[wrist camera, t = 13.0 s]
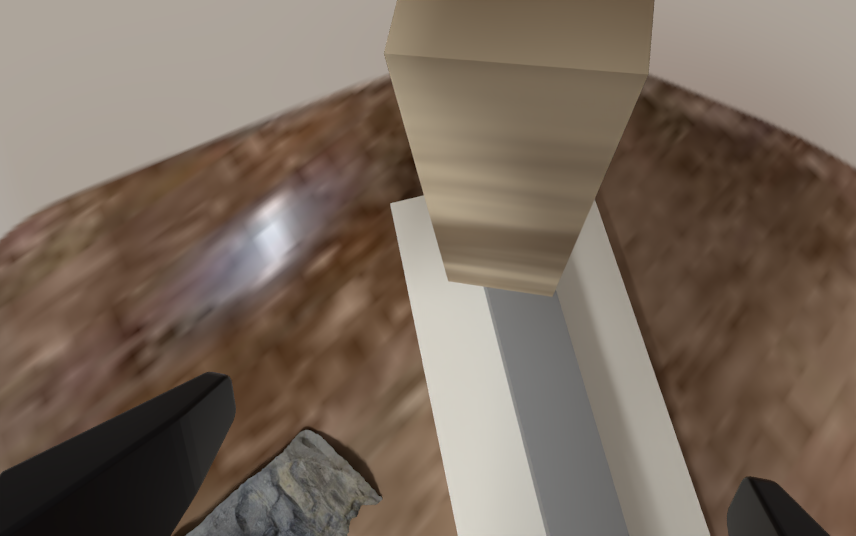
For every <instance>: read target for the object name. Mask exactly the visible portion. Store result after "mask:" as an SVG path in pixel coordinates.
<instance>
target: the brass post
mask: <svg viewBox="0 0 856 536" xmlns="http://www.w3.org/2000/svg"><path fill="white" fill-rule="evenodd" d="M653 11H654V0H397V3H396V7H395V11H394V15H393V19H392V23H391V27H390V31H389V35H388V39H387V43H386V47H385V51H384V56H385V59H386V62H387V66H388V70H389V73H390V77H391V80H392V84H393V87H394V91H395V95H396V98H397V102H398V105H399V109H400V112H401V116H402V119H403V123H404V126H405V130H406V134H407V137H408V141H409V144H410V148H411V151H412V155H413V158H414V162H415V165H416V169H417V172H418V176H419V180H420V183H421V187H422V190H423V194H424V197H425V201H426V204H427V208H428V211H429V215H430V218H431V222H432V226H433V229H434V233H435V236H436V240H437V243H438V247H439V250H440V254H441V257H442V261H443V264H444V268H445V272H446V275H447V279H448V281H449V282H456V283H463V284H470V285H476V286H483V287H490V288H496V289H503V290H510V291H516V292H523V293H530V294H537V295H543V296H550V297H553V294H554V292H555V290H556V287H557V285H558V283H559V280H560V278H561V276H562V274H563V271H564V269H565V267H566V264H567V262H568V260H569V257H570V255H571V253H572V250H573V248H574V246H575V243H576V241H577V239H578V236H579V234H580V232H581V229H582V227H583V225H584V223H585V220H586V218H587V216H588V213H589V211H590V209H591V206H592V204H593V202H594V199H595V197H596V195H597V192H598V190H599V188H600V185H601V183H602V181H603V178H604V176H605V174H606V172H607V169H608V167H609V165H610V162H611V160H612V158H613V155H614V153H615V151H616V148H617V146H618V144H619V141H620V139H621V137H622V134H623V132H624V130H625V127H626V125H627V123H628V121H629V118H630V116H631V114H632V111H633V109H634V107H635V104H636V102H637V100H638V97H639V95H640V93H641V90H642V88H643V86H644V83H645V81H646V79H647V77H648V73H649V60H650V48H651V36H652V24H653Z"/></svg>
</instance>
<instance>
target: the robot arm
mask: <svg viewBox="0 0 856 536" xmlns="http://www.w3.org/2000/svg"><path fill="white" fill-rule="evenodd" d="M235 413H236V405H235V399H234V393H233V386H232V381H231V378H230V377H229V376H228V375H225V374H220V373H215V372H206V373H204V374H202V375H200V376H198V377H196V378H194V379H192V380H189V381H187V382H185V383H183V384H181V385H179V386H177V387H175V388H173V389H171V390H169V391H167V392H165V393H163V394H161V395H159V396H157V397H155V398H153V399H151V400H149V401H146V402H144V403H142V404H140V405H138V406H136V407H134V408H132V409H130V410H128V411H126V412H124V413H122V414H120V415H118V416H116V417H114V418H112V419H110V420H108V421H106V422H103V423H101V424H99V425H97V426H95V427H93V428H91V429H89V430H87V431H85V432H83V433H81V434H79V435H77V436H75V437H73V438H71V439H69V440H67V441H65V442H63V443H60V444H58V445H56V446H54V447H52V448H50V449H48V450H46V451H44V452H42V453H40V454H38V455H36V456H34V457H32V458H30V459H28V460H26V461H24V462H22V463H19V464H17V465H15V466H13V467H11V468H9V469H7V470H5V471H3V472H2V473H1V474H0V536H170V535H171V534H172V532H173V531H174V529H175V528H176V526H177V524H178V523H179V521H180V520H181V518H182V516H183V515H184V513H185V512H186V510H187V509H188V507H189V505H190V504H191V502H192V500H193V499H194V497H195V495H196V494H197V492H198V490H199V488H200V486H201V484H202V483H203V481H204V479H205V477H206V475H207V473H208V471H209V469H210V467H211V465H212V463H213V461H214V459H215V457H216V455H217V453H218V451H219V449H220V447H221V445H222V443H223V440H224V438H225V436H226V434H227V432H228V430H229V428H230V426H231V424H232V422H233V420H234V417H235ZM727 527H728V534H729V536H830V535H829V534H828V533H827V532H826V531H825V530H824V529H823V528H822V527H821V526H820V525H819V524H818V523H817V522H816V521H815V520H814V519H813V518H812V517H811V516H810V515H809V514H808V513H807V512H806V511H805V510H804V509H803V508H802V507H801V506H800V505H799V504H798V503H797V502H796V501H795V500H794V499H793V498H792V497H791V496H790V495H789V494H788V493H787V492H786V491H785V490H784V489H783V488H782V487H781V486H779V485H778V484H777V483H776V482H774V481H771V480H767V479H762V478H757V477H751V476H749V477H745V478H744V479H743V480H742V482H741V484H740V486H739V488H738V490H737V492H736V494H735V496H734V498H733V500H732V503H731V505H730V507H729V509H728V513H727Z"/></svg>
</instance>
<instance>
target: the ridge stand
mask: <svg viewBox="0 0 856 536" xmlns="http://www.w3.org/2000/svg"><path fill="white" fill-rule="evenodd" d="M390 205H391V210H392V215H393V220H394V224H395V229H396V234H397V239H398V244H399V249H400V254H401V259H402V264H403V269H404V273H405V278H406V283H407V288H408V293H409V298H410V303H411V308H412V313H413V317H414V322H415V327H416V332H417V337H418V342H419V347H420V352H421V357H422V362H423V366H424V371H425V376H426V381H427V386H428V391H429V396H430V401H431V406H432V410H433V415H434V420H435V425H436V430H437V435H438V440H439V445H440V450H441V455H442V459H443V464H444V469H445V474H446V479H447V484H448V489H449V494H450V499H451V503H452V508H453V513H454V518H455V523H456V528H457V533H458V536H710V533H709V530H708V527H707V524H706V522H705V519H704V516H703V513H702V510H701V507H700V504H699V501H698V498H697V495H696V492H695V490H694V487H693V484H692V481H691V478H690V475H689V472H688V469H687V466H686V463H685V460H684V457H683V455H682V452H681V449H680V446H679V443H678V440H677V437H676V434H675V431H674V428H673V425H672V423H671V420H670V417H669V414H668V411H667V408H666V405H665V402H664V399H663V396H662V393H661V391H660V388H659V385H658V382H657V379H656V376H655V373H654V370H653V367H652V364H651V361H650V358H649V356H648V353H647V350H646V347H645V344H644V341H643V338H642V335H641V332H640V329H639V326H638V324H637V321H636V318H635V315H634V312H633V309H632V306H631V303H630V300H629V297H628V294H627V292H626V289H625V286H624V283H623V280H622V277H621V274H620V271H619V268H618V265H617V262H616V259H615V257H614V254H613V251H612V248H611V245H610V242H609V239H608V236H607V233H606V230H605V227H604V225H603V222H602V219H601V216H600V213H599V210H598V207H597V204H596V201H595V199H594V202H593V204H592V206H591V209H590V211H589V213H588V216H587V218H586V220H585V223H584V225H583V227H582V229H581V232H580V234H579V236H578V239H577V241H576V243H575V246H574V248H573V250H572V253H571V255H570V257H569V260H568V262H567V264H566V267H565V269H564V271H563V274H562V276H561V278H560V280H559V283H558V285H557V287H556V290H555V292H554V294H553V297H550V296H543V295H537V294H530V293H523V292H516V291H510V290H503V289H496V288H490V287H483V286H476V285H470V284H463V283H456V282H449V281H448V279H447V275H446V272H445V268H444V264H443V261H442V257H441V254H440V250H439V247H438V243H437V240H436V236H435V233H434V229H433V226H432V222H431V218H430V215H429V211H428V208H427V204H426V201H425V197H424V195H423V196H419V197H415V198H411V199H407V200H403V201H398V202H394V203H390Z"/></svg>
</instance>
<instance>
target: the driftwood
mask: <svg viewBox="0 0 856 536" xmlns="http://www.w3.org/2000/svg"><path fill="white" fill-rule="evenodd" d="M381 500H382V497H381V496H378V494H377V493H376V492H375V490H374V489H372V488H371V486H370V485H369V483H367V482H366V481H365V480H364V478H363V477H361V475H360V474H359V473H358V472H356V471H355V470H353V469H352V466H351V465H349V464H348V461H347V460H344V458H343V457H341V456H339V455H338V454H337V453H336V452H335V451H334V449H333V447H332V446H330V445H329V444H328V443H327V442H326V440H324V439H323V438H322V437H321V436H319V435H318V434H315V433H314V432H312V431H310V430H304V431H301V432H300V433H299V434H298V435H297V436H296V437H295V439H293V440H292V442H291V443H290V445H288V446H287V448H286V449H284V452H283V453H281V454H280V455H279V456H277V457H276V458H275V459H274V460H273V461H272V462H270V463H269V464H268V465H267V466H266V467H265V468H263V469H262V471H261V472H258V473H257V474H256V475H254V476H252V477H251V478H248V479H247V481H246V482H245V483H244V484H241V485H240V487H239V488H238V489H237V490H235V491H234V492H233V493H231V495H230V496H229V497H228V498H227V499H226V500H224V501H223V502H222V503H221V504H219V505H218V506H217V507H216V508H215V509H214V510H213V512H212V513H211V514H209V515H208V516H207V517H206V518H205V520H204V521H203V522H202V523H201V524H200V525H199V526H197V527H196V528H195V529H194V530H192V531H191V532H189V533H188V534H187V535H186V536H347V534H348V532H349V524H350V521H351V519H352V518H354V517H357V515H358V511H359V509H360V506H362V505H376V504H378V503H379V502H380V501H381Z"/></svg>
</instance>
